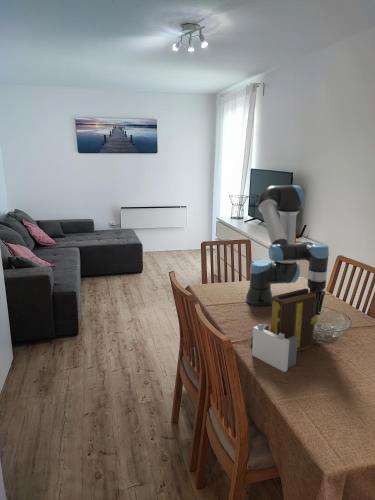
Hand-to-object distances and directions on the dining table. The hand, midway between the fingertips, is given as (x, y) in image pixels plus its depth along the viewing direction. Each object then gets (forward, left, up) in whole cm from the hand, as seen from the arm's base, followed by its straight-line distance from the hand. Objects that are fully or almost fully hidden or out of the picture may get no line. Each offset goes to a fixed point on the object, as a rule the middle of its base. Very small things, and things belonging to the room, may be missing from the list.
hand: (313, 327), depth 166 cm
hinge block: (+24, -13, -5) cm, 27 cm away
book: (+15, 0, -5) cm, 16 cm away
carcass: (+29, 0, -5) cm, 29 cm away
